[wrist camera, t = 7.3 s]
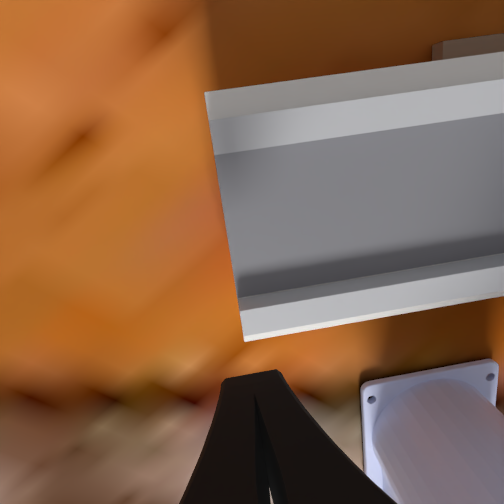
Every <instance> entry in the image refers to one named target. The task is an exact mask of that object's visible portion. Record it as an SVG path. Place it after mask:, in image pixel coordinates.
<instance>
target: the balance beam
mask: <svg viewBox="0 0 504 504" xmlns="http://www.w3.org/2000/svg"><path fill="white" fill-rule="evenodd" d="M204 94H205V101H206V107H207V113H208V120H209V126H210V132H211V138H212V144H213V150H214V157H215V163H216V169H217V175H218V181H219V187H220V194H221V200H222V206H223V212H224V218H225V225H226V231H227V237H228V243H229V249H230V255H231V262H232V268H233V274H234V280H235V286H236V293H237V299H238V305H239V311H240V317H241V323H242V329H243V335H244V341H245V342H247V341H252V340H258V339H264V338H269V337H275V336H280V335H286V334H292V333H297V332H303V331H309V330H314V329H320V328H326V327H331V326H337V325H343V324H348V323H354V322H359V321H365V320H371V319H376V318H382V317H388V316H393V315H399V314H405V313H410V312H416V311H421V310H427V309H433V308H438V307H444V306H450V305H455V304H461V303H467V302H472V301H478V300H484V299H489V298H495V297H500V296H504V33H501V34H493V35H486V36H478V37H471V38H463V39H456V40H448V41H442V42H439V43H437V44H434V45H432V61H430V62H423V63H415V64H408V65H401V66H393V67H386V68H379V69H371V70H364V71H357V72H349V73H342V74H334V75H327V76H320V77H312V78H305V79H298V80H290V81H283V82H276V83H268V84H261V85H254V86H246V87H239V88H231V89H224V90H217V91H209V92H204Z"/></svg>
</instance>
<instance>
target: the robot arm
mask: <svg viewBox="0 0 504 504" xmlns="http://www.w3.org/2000/svg"><path fill="white" fill-rule="evenodd" d="M498 371H499V365H498V364H497V363H496V362H495V361H494V360H492V359H484V360H478V361H473V362H468V363H462V364H457V365H452V366H446V367H441V368H436V369H430V370H425V371H420V372H414V373H409V374H404V375H398V376H393V377H388V378H382V379H377V380H372V381H367V382H365V383H364V384H363V385H362V386H361V389H360V392H361V412H362V433H363V453H364V472H363V471H362V470H361V469H360V468H359V467H358V466H357V465H356V464H354V462H353V461H352V460H351V459H350V458H349V457H348V456H347V455H346V454H345V453H344V452H343V451H342V450H341V449H340V448H339V447H338V446H337V445H336V444H335V443H334V441H333V440H332V439H331V438H330V437H329V436H328V435H327V434H326V433H325V431H324V430H323V429H322V428H321V427H320V426H319V424H318V423H317V422H316V421H315V420H314V418H313V417H312V416H311V415H310V414H309V412H308V411H307V410H306V409H305V407H304V406H303V405H302V403H301V402H300V401H299V399H298V398H297V397H296V395H295V394H294V393H293V391H292V390H291V388H290V387H289V385H288V384H287V382H286V381H285V379H284V377H283V375H282V373H281V372H279V371H278V370H276V369H275V370H270V371H264V372H259V373H253V374H248V375H242V376H237V377H231V378H226V379H225V380H224V381H223V382H222V383H221V390H220V395H219V400H218V404H217V407H216V411H215V414H214V417H213V421H212V424H211V427H210V429H209V432H208V435H207V438H206V441H205V444H204V446H203V449H202V452H201V454H200V457H199V459H198V462H197V464H196V466H195V469H194V471H193V473H192V476H191V478H190V480H189V483H188V485H187V487H186V490H185V492H184V494H183V497H182V499H181V501H180V503H179V504H271V503H270V491H271V495H272V499H273V503H274V504H504V415H503V414H502V413H501V412H500V411H499V410H498V409H497V408H496V407H495V404H496V393H497V382H498ZM488 374H489V375H488ZM487 375H488V376H487ZM370 396H373V397H372V398H370V399H368V398H369V397H370ZM269 487H270V491H269Z"/></svg>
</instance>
